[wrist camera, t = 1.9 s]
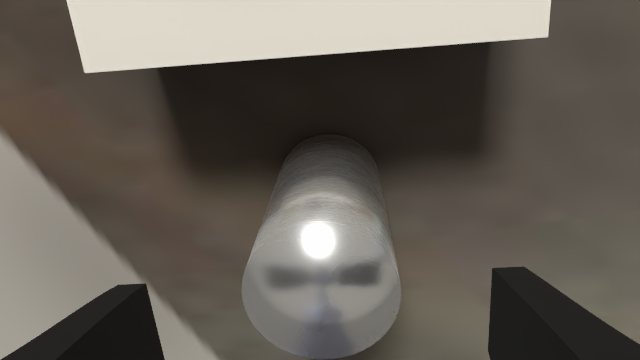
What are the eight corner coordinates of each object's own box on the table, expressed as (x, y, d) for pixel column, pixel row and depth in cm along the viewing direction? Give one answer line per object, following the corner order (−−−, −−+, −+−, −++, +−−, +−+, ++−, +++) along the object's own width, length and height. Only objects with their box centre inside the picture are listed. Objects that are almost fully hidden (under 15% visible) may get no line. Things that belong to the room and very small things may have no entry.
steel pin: (381, 224, 18) (402, 357, 12) (285, 229, 18) (252, 361, 12) (377, 130, 17) (399, 219, 10) (274, 137, 17) (230, 228, 11)
